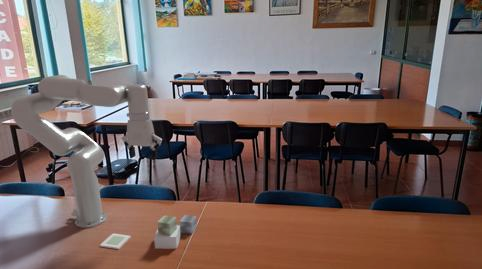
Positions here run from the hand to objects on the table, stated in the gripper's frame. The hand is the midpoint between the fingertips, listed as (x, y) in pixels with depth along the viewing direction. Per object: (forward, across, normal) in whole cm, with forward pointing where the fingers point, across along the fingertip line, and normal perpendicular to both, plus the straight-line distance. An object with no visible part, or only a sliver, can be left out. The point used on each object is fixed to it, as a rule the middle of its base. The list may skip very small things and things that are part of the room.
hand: (143, 158), depth 132 cm
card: (+28, -5, -17) cm, 33 cm away
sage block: (+24, +15, -13) cm, 31 cm away
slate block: (+28, +19, -3) cm, 34 cm away
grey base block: (+29, +15, -13) cm, 35 cm away
